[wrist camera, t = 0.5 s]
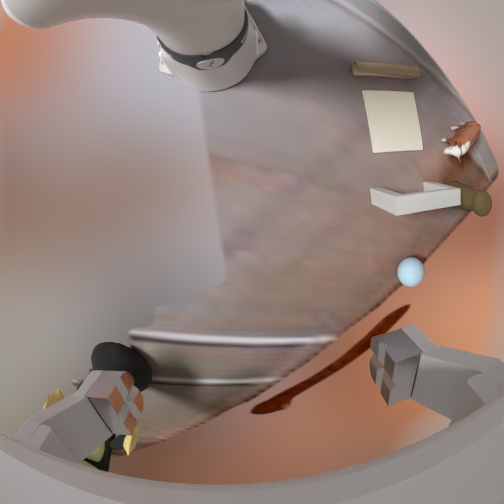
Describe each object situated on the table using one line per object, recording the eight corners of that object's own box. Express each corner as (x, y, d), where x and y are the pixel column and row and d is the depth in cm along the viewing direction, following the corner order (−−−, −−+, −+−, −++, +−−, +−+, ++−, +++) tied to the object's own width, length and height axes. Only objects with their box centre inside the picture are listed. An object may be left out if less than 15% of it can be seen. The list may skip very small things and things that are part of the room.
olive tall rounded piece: (445, 209, 47) (478, 222, 37) (444, 182, 45) (479, 191, 35) (462, 205, 47) (495, 218, 36) (462, 179, 45) (495, 188, 34)
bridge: (370, 188, 46) (396, 196, 37) (430, 181, 45) (460, 188, 36) (371, 203, 47) (397, 215, 38) (431, 195, 46) (460, 204, 37)
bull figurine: (425, 146, 43) (450, 148, 35) (458, 118, 40) (482, 117, 32) (434, 164, 44) (459, 168, 36) (466, 135, 41) (490, 136, 33)
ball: (392, 255, 50) (407, 267, 45) (415, 250, 50) (430, 261, 44) (392, 281, 52) (405, 294, 47) (414, 275, 52) (428, 287, 47)
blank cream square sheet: (361, 90, 39) (362, 90, 39) (412, 92, 39) (413, 92, 39) (373, 152, 43) (373, 152, 43) (422, 150, 43) (423, 150, 43)
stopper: (350, 66, 38) (356, 61, 35) (410, 70, 37) (418, 67, 34) (353, 75, 38) (359, 71, 36) (413, 79, 38) (421, 76, 35)
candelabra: (164, 356, 58) (113, 536, 16) (151, 404, 65) (116, 539, 22) (93, 325, 55) (2, 476, 13) (92, 379, 62) (35, 501, 20)
